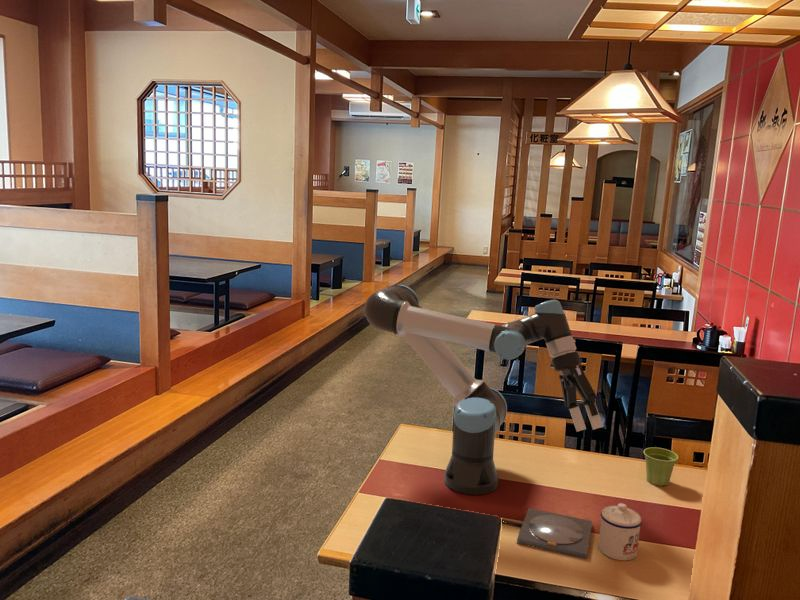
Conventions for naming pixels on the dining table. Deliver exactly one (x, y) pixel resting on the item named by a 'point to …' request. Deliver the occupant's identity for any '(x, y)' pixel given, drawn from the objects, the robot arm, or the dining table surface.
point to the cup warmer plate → (555, 532)
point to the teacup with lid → (619, 532)
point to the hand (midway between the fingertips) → (589, 429)
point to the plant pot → (659, 465)
